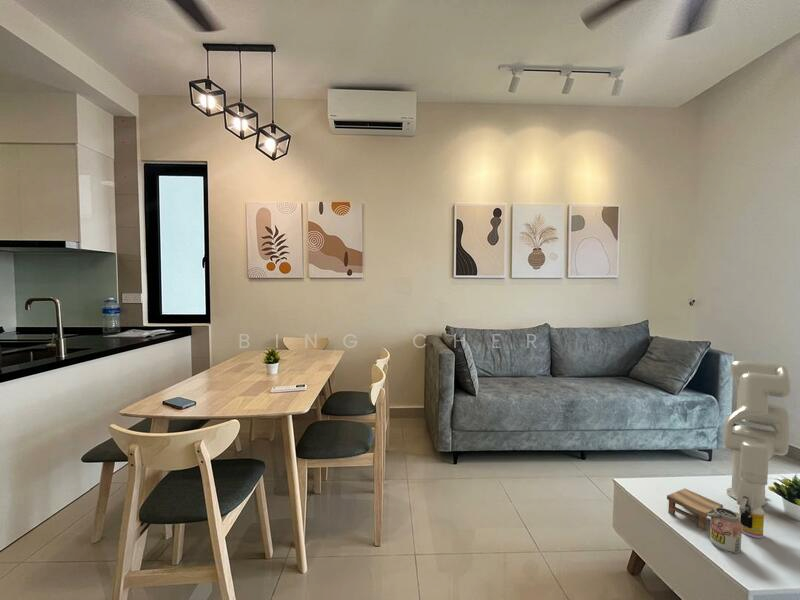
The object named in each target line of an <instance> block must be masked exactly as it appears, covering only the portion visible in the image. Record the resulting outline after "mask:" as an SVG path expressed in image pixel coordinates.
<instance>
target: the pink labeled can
mask: <svg viewBox="0 0 800 600" xmlns="http://www.w3.org/2000/svg"><path fill="white" fill-rule="evenodd" d="M707 517H709V518H710V527H709V529H710V530H709V532H710V533H709V540H710V542H711V544H713V545H714V547H716V548H718V549H719V550H722V551H723V552H727V553H730V554H737V553H740V552H741V549H742V535H743V534H742V533H743V532H742V524H741V522H740V521H739V512H735V511H733V510H731V509H728V508H725V507H723V508H721V507H717V508H714V512H713V513H708V514H707Z"/></svg>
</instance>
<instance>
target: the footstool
mask: <svg viewBox="0 0 800 600" xmlns="http://www.w3.org/2000/svg"><path fill="white" fill-rule="evenodd" d="M666 500H667V501H668V513H667V514H670V515H672V516H674V515H675V514H676V513H678V514H680V515H682V516H683V517H686V518H688V519H690V520H692V521H694V522H696V523H698V529H699V530H701V531H706V530H707V517H708V516H707V514H708V513H713V512H714V508H717V507H721V508H724V505H723V504H722V503H720V502H717V501H714V500H712V499H710V498H708V497H705V496H703V495H701V494H698V493H696V492H694V491H692V490H690V489H687V488H682V489H680V490H677V491H674V492H672V493H670V494H667V495H666ZM676 504H677V505H679V506H680V507H682V508H685V509H686V510H688V511H691V512H693V513H695V514H697V515H698V517H697V516H695V515H693V514H690V513H688V512H686V511H685V510H682V509H681V508H678V507H676Z"/></svg>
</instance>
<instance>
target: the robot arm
mask: <svg viewBox="0 0 800 600" xmlns="http://www.w3.org/2000/svg"><path fill="white" fill-rule="evenodd" d="M730 374H731V376H732V379H733V381H734V383H735V387H736V391H737V393H736V410H735V411H733V412H731V413H729V415H728V416H727V417H726V419H725V421H724V423H723V434H722V436H723V437H722V442H723V443H722V444H723V446H724V448H725V449H726V450H727V451H729V452H731V453H732V471H731V474H732V475H731V487H727V488H726V494H727V496H729V497H730V498H732V499H734V500H736V504H737V505H738V506H739V505H740V511H741V512H740V514H741V518H740V522H741V524H742V525H744V526H746V527H748V528H752V521H753V518H752V517H751V516H752V512H753V510H756V509H758V508H759V507H761V508H762V509H763V507H764V506H766V505H767V500H766V486H767V485H768V477H769V474H768V473H769V459H771V458H772V457H773V456H774V455H775V456H776V455H777V456H786V455H788V452H789V445H790V417H789V413H788V411H787V409H786V408H785V407H784V406H781V405H777V404H771V403H769V397H776V398H788V396H789V395H790V393H791V381H790V377H789V372H788V369H787V368H786V366H785V365H782V364H777V363H769V362H760V361H753V360H752V361H751V360H734V361H731V363H730ZM738 421H742V422H745V423H748V424H752V425H753V424H754V425H758V426H763V427H770V428H771V429H772V430H771V429H767V428H766V429H765V428H760V427H756V426H752V425H751V426H750V425H745V424H737V425H735V423H737V422H738ZM760 504H761V505H760ZM747 506H750V507H751V508H748V507H747ZM746 509H749V513H748V511H747V510H746Z"/></svg>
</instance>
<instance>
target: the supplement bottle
mask: <svg viewBox="0 0 800 600" xmlns="http://www.w3.org/2000/svg"><path fill="white" fill-rule="evenodd" d="M760 505H761V504H760ZM747 507H748V508H751V507H750V506H747ZM738 510H739V511H738V514H739V521H740V518H741V514H740V512H741V511H740V505H738ZM746 510H747V511H748V513H749V509H746ZM751 517H752V518H753V521H752V528H748V527H746V526H744V525H742V533H743V534H744V535H746V536H748V537H751V538H756V539H761V538H763V537H764V526H765V525H764V522H765V521H764V520H765V519H764V518H765V511H764V509H763V507H762V508H761V507H759V508H758V509H756V510H753V512H752V516H751Z"/></svg>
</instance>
